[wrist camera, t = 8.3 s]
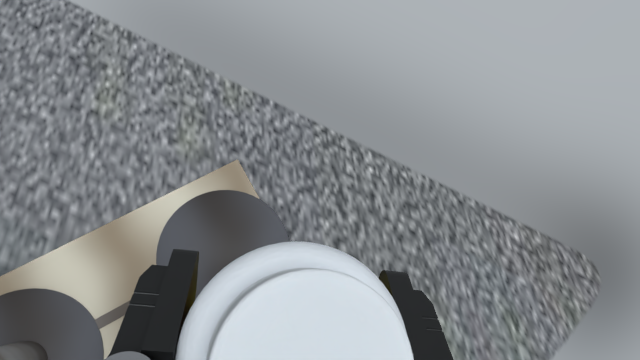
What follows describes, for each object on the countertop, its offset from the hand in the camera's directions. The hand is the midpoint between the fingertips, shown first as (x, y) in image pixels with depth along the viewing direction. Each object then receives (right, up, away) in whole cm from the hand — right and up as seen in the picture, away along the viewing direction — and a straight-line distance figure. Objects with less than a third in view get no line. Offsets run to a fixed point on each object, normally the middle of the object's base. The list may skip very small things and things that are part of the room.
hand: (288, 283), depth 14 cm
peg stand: (-10, -4, +13) cm, 17 cm away
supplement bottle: (-1, -3, +4) cm, 5 cm away
